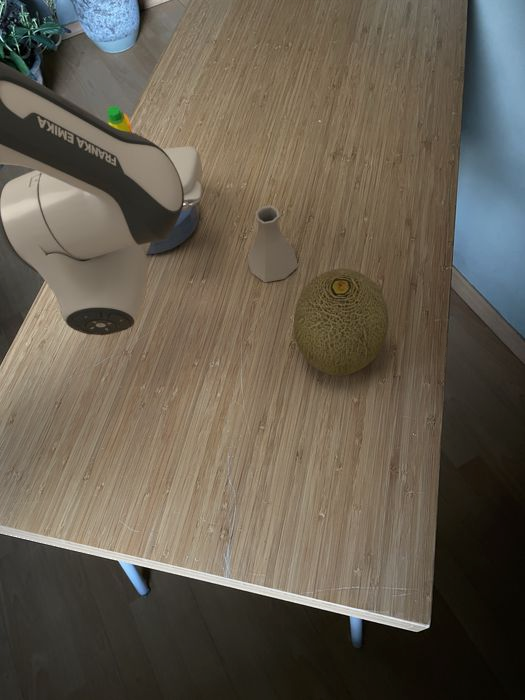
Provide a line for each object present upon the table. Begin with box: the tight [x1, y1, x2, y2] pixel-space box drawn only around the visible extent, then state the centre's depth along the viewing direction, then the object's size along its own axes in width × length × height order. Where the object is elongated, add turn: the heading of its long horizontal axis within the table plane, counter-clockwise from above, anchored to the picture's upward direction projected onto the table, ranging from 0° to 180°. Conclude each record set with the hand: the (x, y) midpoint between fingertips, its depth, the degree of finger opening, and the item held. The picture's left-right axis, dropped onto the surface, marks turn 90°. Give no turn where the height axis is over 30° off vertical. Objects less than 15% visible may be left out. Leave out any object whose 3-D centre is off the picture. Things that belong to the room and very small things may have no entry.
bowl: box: [146, 203, 200, 255], centre depth 90 cm, size 14×14×4 cm
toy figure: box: [106, 105, 132, 132], centre depth 78 cm, size 7×4×12 cm, turn 10°
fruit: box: [293, 268, 390, 377], centre depth 70 cm, size 11×11×15 cm
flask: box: [247, 204, 299, 283], centre depth 81 cm, size 7×7×10 cm
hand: (126, 138), depth 78 cm, fingers closed on toy figure
